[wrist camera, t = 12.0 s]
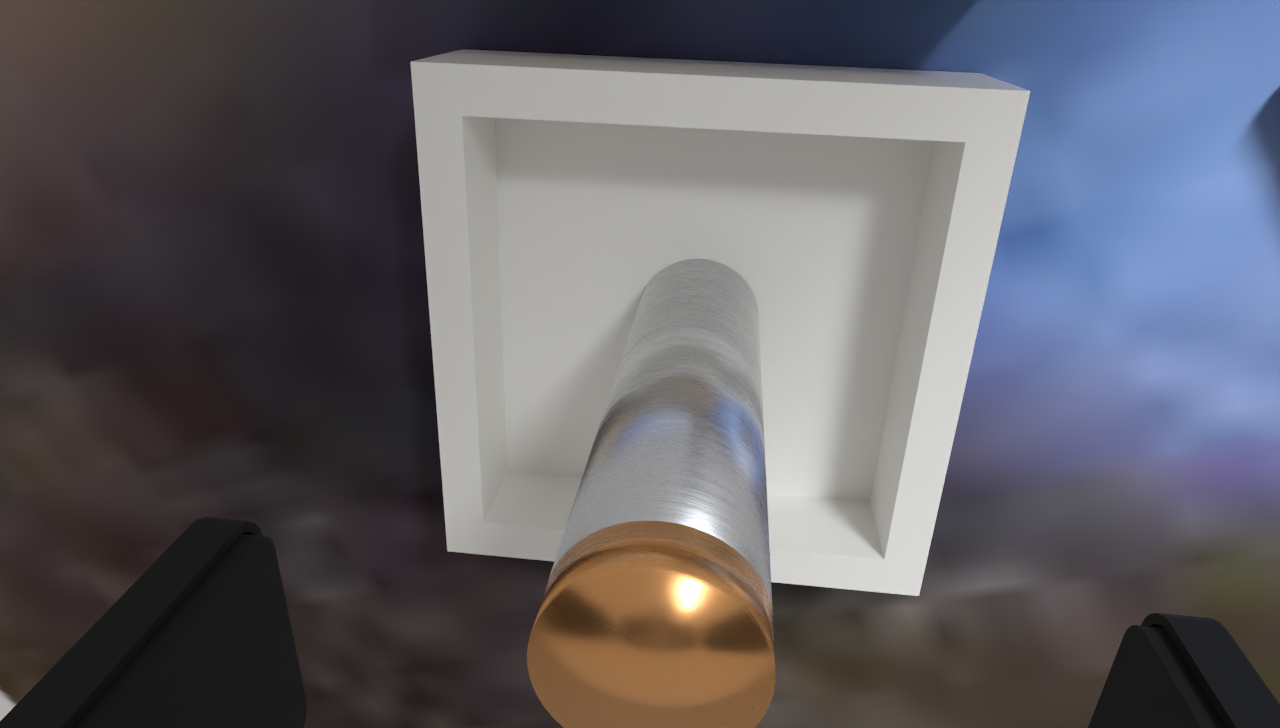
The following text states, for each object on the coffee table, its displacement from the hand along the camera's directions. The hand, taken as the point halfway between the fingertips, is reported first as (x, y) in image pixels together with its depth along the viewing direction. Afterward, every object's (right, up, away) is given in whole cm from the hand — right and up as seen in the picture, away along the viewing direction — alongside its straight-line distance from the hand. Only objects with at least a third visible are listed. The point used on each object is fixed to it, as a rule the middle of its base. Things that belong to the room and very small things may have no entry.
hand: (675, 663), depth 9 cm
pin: (+1, +5, +12) cm, 12 cm away
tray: (+1, +5, +12) cm, 13 cm away
